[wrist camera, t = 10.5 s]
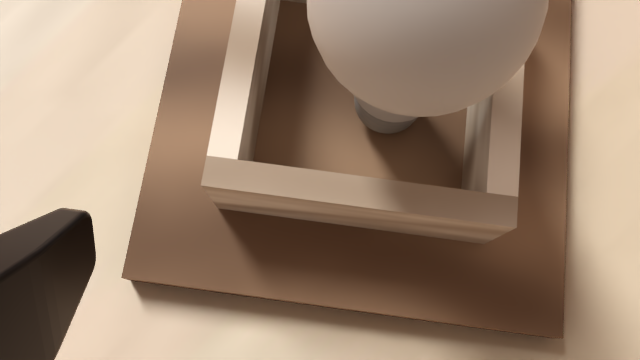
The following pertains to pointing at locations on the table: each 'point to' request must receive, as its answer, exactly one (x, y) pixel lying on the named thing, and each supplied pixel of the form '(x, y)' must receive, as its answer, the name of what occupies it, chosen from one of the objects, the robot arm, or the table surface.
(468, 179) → the socket board
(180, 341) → the table surface
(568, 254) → the table surface
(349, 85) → the lightbulb
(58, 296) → the robot arm
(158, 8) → the table surface
